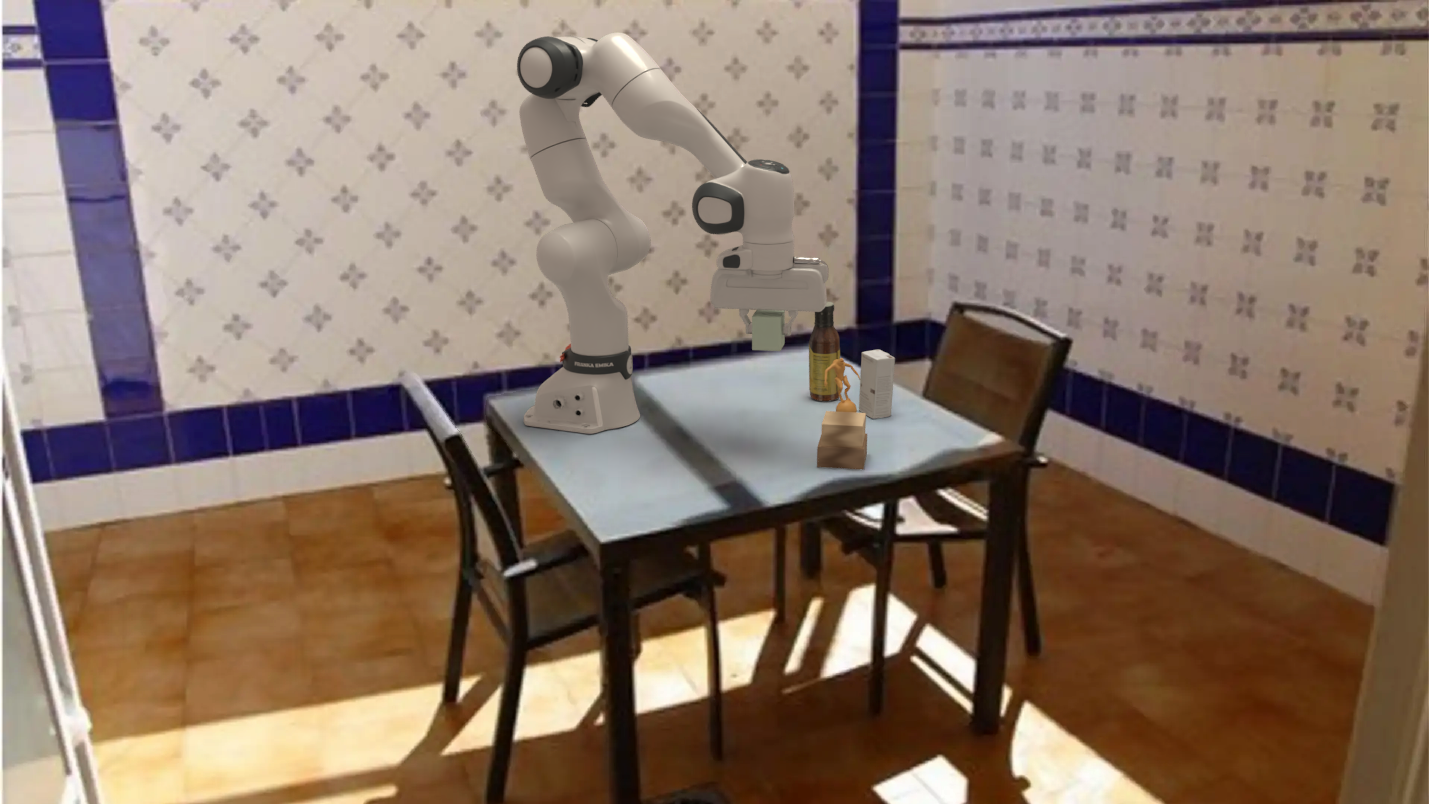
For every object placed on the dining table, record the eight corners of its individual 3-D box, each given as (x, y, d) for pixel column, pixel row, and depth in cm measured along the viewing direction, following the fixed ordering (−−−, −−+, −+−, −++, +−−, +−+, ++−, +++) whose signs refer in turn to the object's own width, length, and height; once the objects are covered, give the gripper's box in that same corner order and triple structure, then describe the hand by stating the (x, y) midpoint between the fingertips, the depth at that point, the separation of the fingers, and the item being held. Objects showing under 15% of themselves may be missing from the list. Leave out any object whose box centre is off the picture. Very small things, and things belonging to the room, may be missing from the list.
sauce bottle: (822, 391, 245) (823, 297, 239) (846, 397, 241) (848, 302, 235) (802, 398, 241) (802, 303, 235) (826, 405, 237) (827, 308, 231)
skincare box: (857, 410, 233) (858, 351, 230) (877, 407, 235) (879, 348, 231) (873, 419, 228) (875, 359, 224) (893, 416, 230) (895, 356, 226)
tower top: (821, 446, 205) (821, 424, 203) (825, 432, 211) (826, 411, 210) (862, 448, 203) (862, 426, 202) (865, 434, 210) (865, 413, 208)
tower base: (817, 468, 205) (817, 446, 204) (821, 452, 213) (822, 431, 212) (863, 471, 204) (864, 449, 203) (866, 454, 211) (867, 433, 210)
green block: (752, 349, 208) (751, 316, 206) (756, 342, 212) (756, 309, 210) (780, 351, 207) (780, 317, 205) (784, 343, 211) (784, 310, 210)
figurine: (834, 426, 225) (835, 366, 221) (816, 418, 230) (816, 358, 226) (869, 419, 229) (871, 359, 225) (850, 410, 234) (852, 351, 230)
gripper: (830, 254, 205) (829, 331, 210) (714, 251, 209) (716, 327, 214) (826, 261, 200) (825, 340, 204) (707, 258, 204) (708, 336, 208)
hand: (768, 333), depth 209 cm, fingers closed on green block, 5 cm apart
